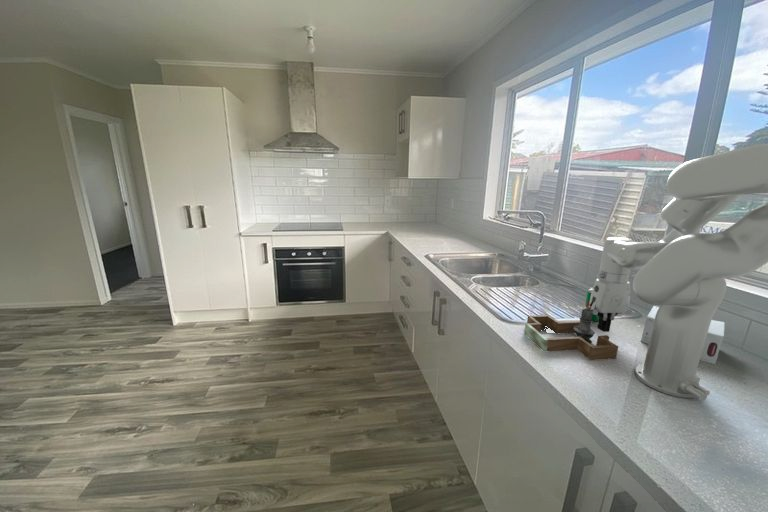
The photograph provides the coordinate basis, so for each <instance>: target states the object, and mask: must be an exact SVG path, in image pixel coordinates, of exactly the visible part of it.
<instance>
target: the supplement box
mask: <svg viewBox="0 0 768 512" xmlns="http://www.w3.org/2000/svg"><path fill="white" fill-rule="evenodd" d="M659 307H660V306H658V305H653V306H652V308H651V310H650V311H649V313H648V315H646V319H645V324H644V327H643V331H642V334H641V338H640V342H641V343H644V344H647V345H649V341H650V337H651V332H652V328H653V324H654V320H655V316H656V313H657V311H658V309H659ZM725 326H726V322H724V321H721V320H720V321H719V320H715V319H712V320H711V323H710V327H709V330H708V333H707V336H706V340H705V343H704V347H703V350H702V354H701V357H700V361H702V360H703V361H702V362H706V363H709V364H713V365H716V363H717V360H718V356H719V354H720V353H719V352H720V349H721V347H722V343H723V340H724V337H725V328H726V327H725Z"/></svg>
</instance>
